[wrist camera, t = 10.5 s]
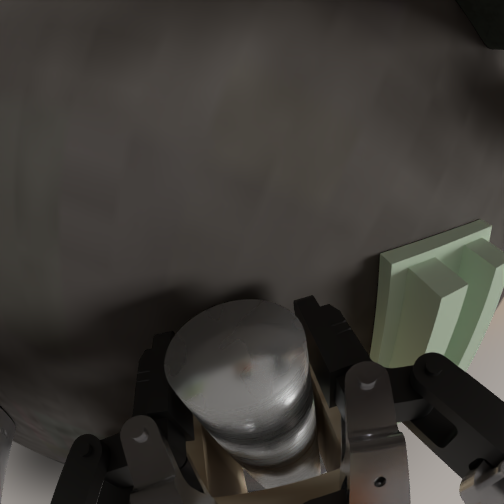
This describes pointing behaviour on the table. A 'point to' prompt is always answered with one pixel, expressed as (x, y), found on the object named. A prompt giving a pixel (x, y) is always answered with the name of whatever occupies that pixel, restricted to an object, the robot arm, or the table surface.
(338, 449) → the beige block
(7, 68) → the table surface
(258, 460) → the axle
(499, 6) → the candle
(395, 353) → the cradle
